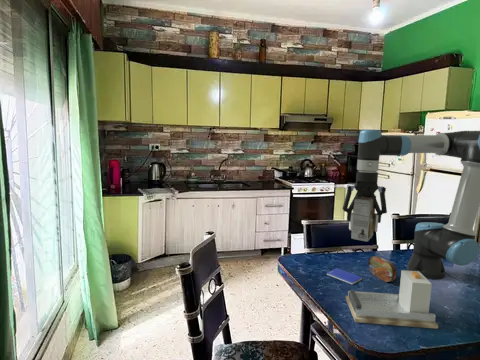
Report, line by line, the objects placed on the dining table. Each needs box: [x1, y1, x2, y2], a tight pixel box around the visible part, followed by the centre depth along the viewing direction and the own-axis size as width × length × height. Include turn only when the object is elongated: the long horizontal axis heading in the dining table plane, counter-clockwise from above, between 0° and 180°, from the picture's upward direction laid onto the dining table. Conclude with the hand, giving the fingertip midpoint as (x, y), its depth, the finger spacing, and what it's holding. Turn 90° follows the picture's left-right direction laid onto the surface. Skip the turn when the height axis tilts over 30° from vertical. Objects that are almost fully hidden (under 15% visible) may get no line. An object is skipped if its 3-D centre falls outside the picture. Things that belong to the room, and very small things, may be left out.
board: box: [345, 295, 439, 330], centre depth 118 cm, size 26×16×1 cm, turn 84°
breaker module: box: [398, 269, 433, 313], centre depth 116 cm, size 6×10×13 cm, turn 174°
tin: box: [367, 255, 398, 283], centre depth 146 cm, size 15×3×8 cm, turn 18°
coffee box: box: [350, 195, 377, 242], centre depth 128 cm, size 9×6×16 cm
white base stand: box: [347, 289, 437, 323], centre depth 118 cm, size 25×13×4 cm, turn 84°
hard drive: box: [326, 267, 363, 285], centre depth 147 cm, size 2×8×12 cm
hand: (362, 230), depth 129 cm, fingers closed on coffee box, 8 cm apart
